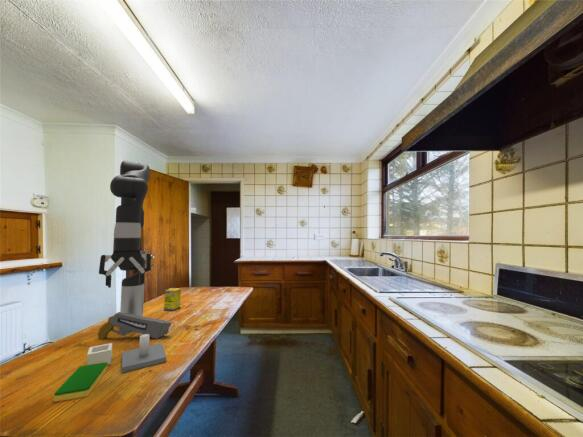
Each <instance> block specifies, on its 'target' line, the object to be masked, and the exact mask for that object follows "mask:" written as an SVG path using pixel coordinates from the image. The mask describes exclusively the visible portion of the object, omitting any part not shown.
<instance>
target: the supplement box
mask: <svg viewBox="0 0 583 437" xmlns="http://www.w3.org/2000/svg"><path fill="white" fill-rule="evenodd" d="M181 292H182V288H177V287H170V288H168V289H165V290H164V299H163V300H164V301H163V302H164V303H163V304H164V305H163V311H168V312H169V311H170V312H175V311H177V310H179V309H180V308H181Z"/></svg>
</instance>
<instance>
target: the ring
mask: <svg viewBox="0 0 583 437" xmlns="http://www.w3.org/2000/svg"><path fill="white" fill-rule="evenodd" d="M87 351H88V352H87V354H86V365H92V364H99V363H106V362H107V363H108V364H107V365H111V364H112V358H113V357H112V356H113V342H111V343H110V342H109V343H106V344H105V343H104V344H100V345H95V346H90V347H89V348H88V350H87Z"/></svg>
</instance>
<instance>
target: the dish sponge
mask: <svg viewBox="0 0 583 437" xmlns="http://www.w3.org/2000/svg"><path fill="white" fill-rule="evenodd" d="M107 364H108V363H107V362H106V363H99V364H92V365H87V364H86V365H80V366H78V368H77V369H76V370H75V371H74V372H73V373H72V374H71V375H70V376H69V377H68V378H67V380H65V381H64V382H63V384H62V385H60V386H59V387H58V388H57V390H56V391H55V392H54V394H53V395H54V396H53V402H61V401H68V400H72V399H77V398H83V397H88V396H90V394H91V393H92V391H93V390H94V388H95V387H96V386H97V384H98V383H99V382H100V380H101V379H102V377H103V376H104V375H105V373H106V372H107V370H108V368H109V367H108V365H107Z"/></svg>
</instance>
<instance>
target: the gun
mask: <svg viewBox="0 0 583 437" xmlns="http://www.w3.org/2000/svg"><path fill="white" fill-rule="evenodd" d="M107 319H108V320H107V322H106V323H104V324H103V326H101V327H100V329H99V330H98V333H97V336H98V338H99V339H100V340H104V339H106V338H107V337H108V335H109V333H111V332H112V333H116V334H117V335H121V336H122V337H124V336H126V335H127V334H130V333H132V332H134V333H138V334H141V335H144V334H149V335H150V336H149V338H153V339H159V338H162V337H163V336H164V335H168V333H169V330H170V327H171V326H172V322H171V321H169V320H165V319H160V318H152V317H148V316H144V315H143V316H138V315H133V314H128V313H122V312H120V311H118V312H116V313H115V314H114V315H112V316H109V317H108V318H107ZM114 327H116V328H119V330H115V328H114Z"/></svg>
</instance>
